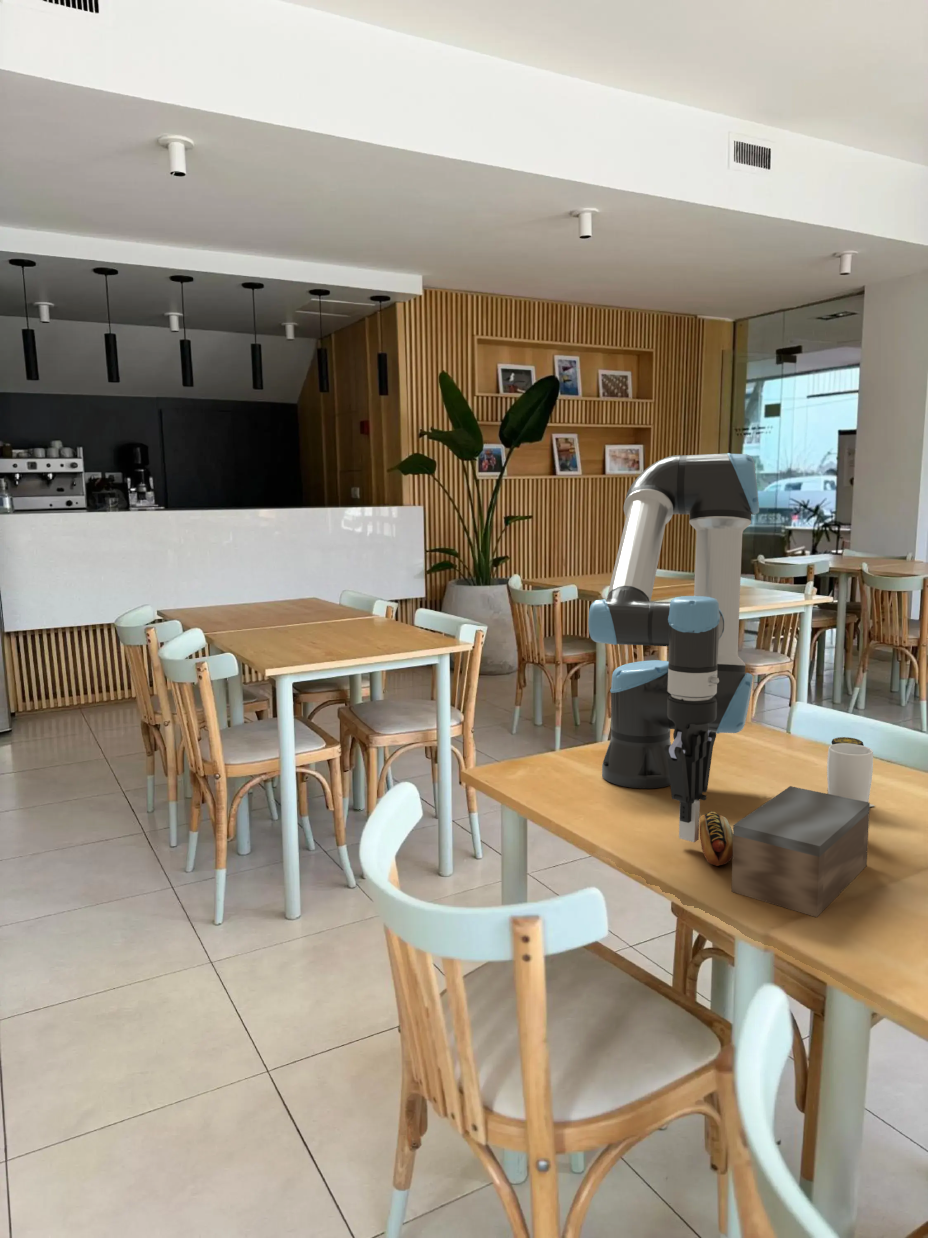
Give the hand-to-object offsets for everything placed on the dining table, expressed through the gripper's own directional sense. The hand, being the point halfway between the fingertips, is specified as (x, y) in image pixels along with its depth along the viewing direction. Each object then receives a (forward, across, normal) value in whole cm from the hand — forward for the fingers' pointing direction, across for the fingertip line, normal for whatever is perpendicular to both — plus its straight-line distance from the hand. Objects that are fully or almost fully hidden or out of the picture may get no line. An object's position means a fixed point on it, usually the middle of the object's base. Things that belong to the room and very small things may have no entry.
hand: (688, 838), depth 140 cm
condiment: (+2, +36, -12) cm, 38 cm away
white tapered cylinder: (+2, +20, -18) cm, 27 cm away
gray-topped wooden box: (+2, 0, -18) cm, 18 cm away
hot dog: (+2, +1, -4) cm, 5 cm away
